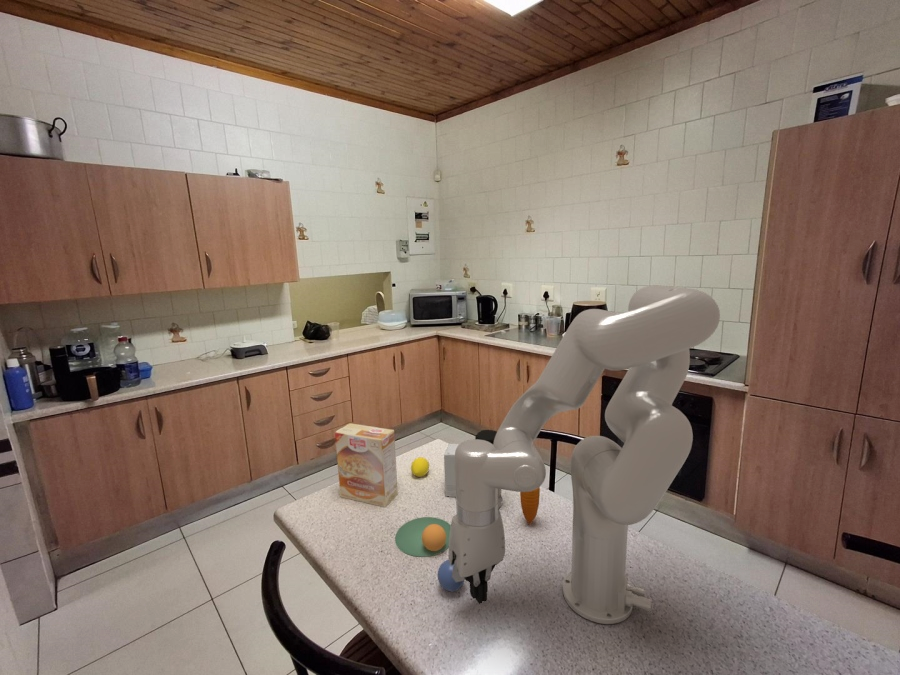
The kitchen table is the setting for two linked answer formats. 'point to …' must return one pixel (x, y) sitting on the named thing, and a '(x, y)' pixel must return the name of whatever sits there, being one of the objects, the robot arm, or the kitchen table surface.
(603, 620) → the robot arm
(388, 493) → the coffeecake box
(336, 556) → the kitchen table surface
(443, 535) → the object ball
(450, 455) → the supplement box
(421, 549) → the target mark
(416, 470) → the lemon
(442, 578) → the blue ball
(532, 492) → the carrot
